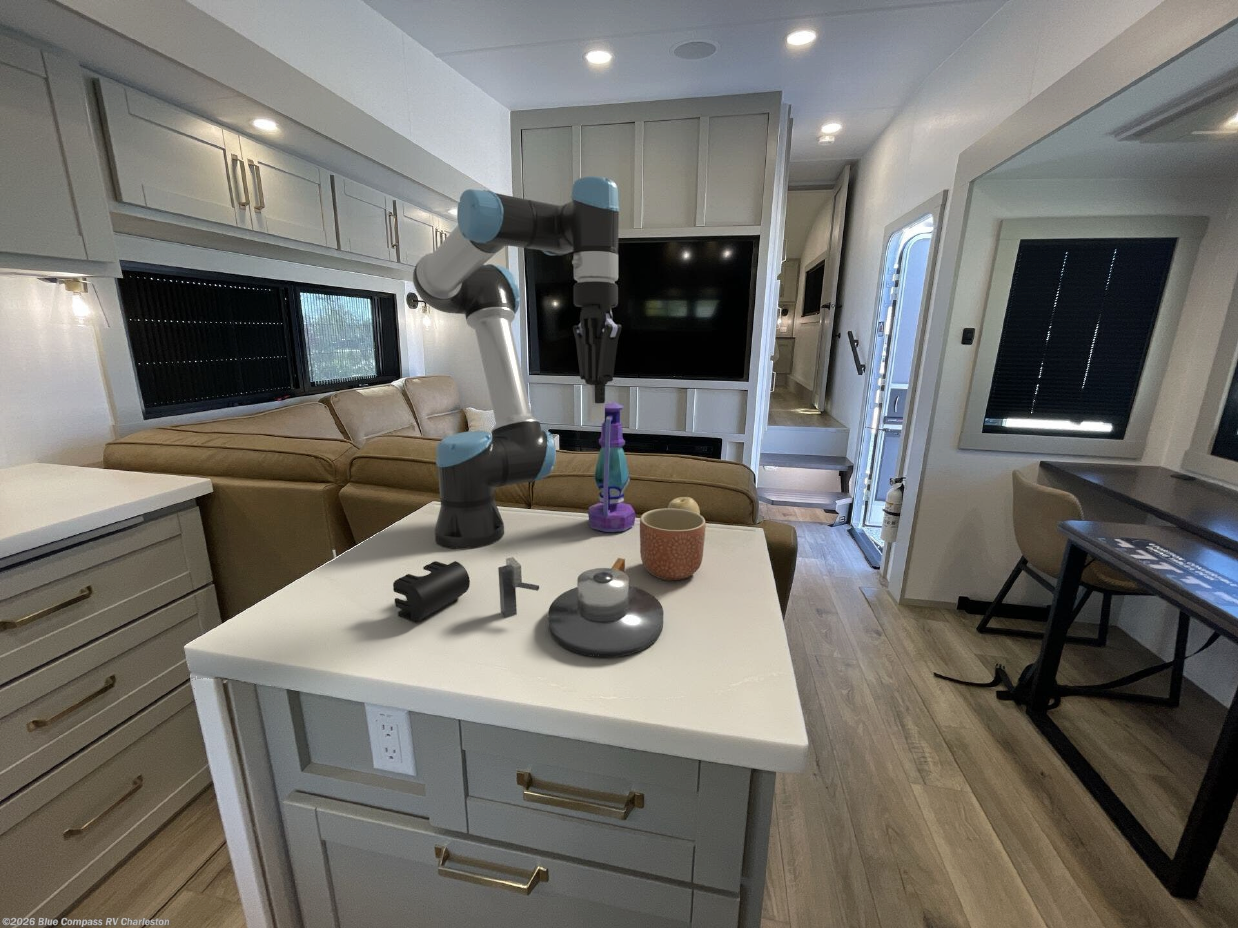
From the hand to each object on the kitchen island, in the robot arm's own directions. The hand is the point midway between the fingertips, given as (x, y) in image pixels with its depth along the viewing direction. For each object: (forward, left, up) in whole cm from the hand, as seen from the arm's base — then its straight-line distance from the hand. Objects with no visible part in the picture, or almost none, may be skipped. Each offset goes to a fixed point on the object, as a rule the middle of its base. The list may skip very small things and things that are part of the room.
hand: (596, 420), depth 88 cm
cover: (+16, -8, -27) cm, 33 cm away
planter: (+8, +12, -30) cm, 33 cm away
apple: (-10, +30, -30) cm, 43 cm away
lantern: (-19, +15, -30) cm, 38 cm away
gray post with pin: (+7, -19, -29) cm, 36 cm away
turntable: (+17, -8, -29) cm, 35 cm away
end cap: (-2, -30, -30) cm, 42 cm away
